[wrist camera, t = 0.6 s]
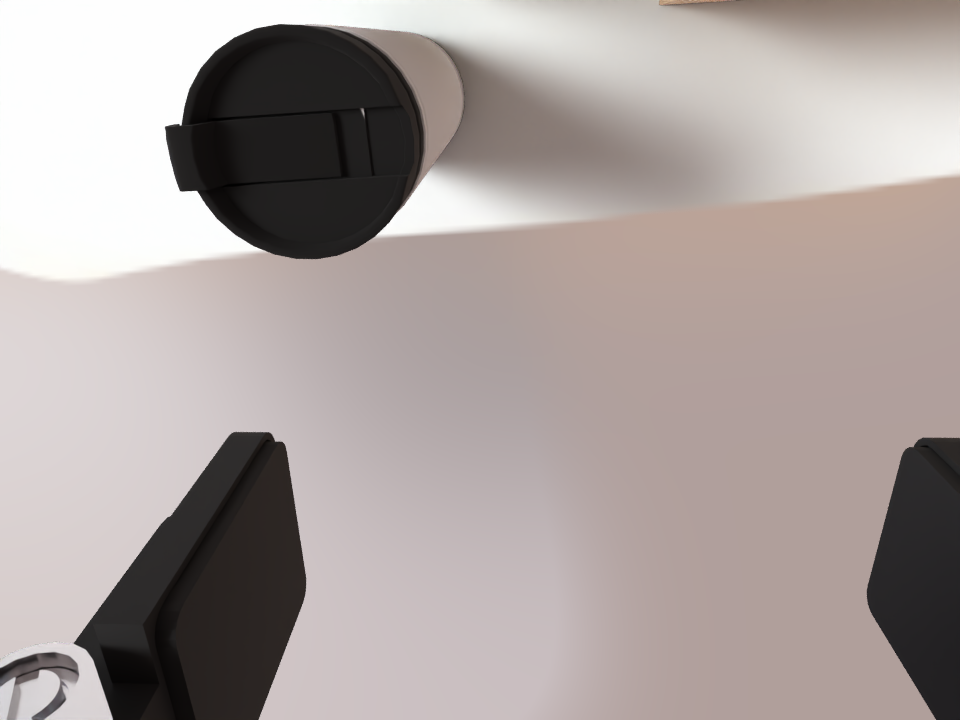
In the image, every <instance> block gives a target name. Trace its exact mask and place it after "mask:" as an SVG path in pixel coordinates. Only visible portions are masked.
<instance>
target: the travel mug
mask: <svg viewBox="0 0 960 720" xmlns="http://www.w3.org/2000/svg"><path fill="white" fill-rule="evenodd" d="M464 99H465V94H464V88H463V82H462V79H461V76H460V73H459V71H458V69H457V67H456V65H455V63H454V62H453V60H452V58H451V57H450V56H449V55H448V54H447V53H446V52H445V50H444V49H443V48H441V47H440V46H439V45H438V44H436V43H435V42H434V41H432V40H430V39H428V38H426V37H424V36H422V35H418V34H414V33H410V32H400V31H389V30H378V29H367V28H356V27H345V26H332V25H314V24H306V25H286V24H278V25H272V26H267V27H261V28H256V29H254V30H251V31H249V32H246V33H244V34H242V35H239V36H237V37H235V38H233V39H232V40H230V41H229V42H228V43H226V44H225V45H223V46H222V47H221V48H219V49H218V50H217V51H215V52H214V54H213V55H212V56H211V57H210V58H209V59H208V61H207V62H206V63H205V64H204V65H203V66H202V67H201V69H200V70H199V72H198V74H197V76H196V78H195V80H194V82H193V83H192V85H191V87H190V89H189V93H188V96H187V100H186V103H185V107H184V113H183V120H182V126H180V125H179V124H174V125H170V126H166V127H165V130H166V140H167V145H168V150H169V155H170V160H171V163H172V167H173V171H174V175H175V179H176V181H177V184H178V187H179V190H180V191H198V193H199V194H200V196H201V198H202V199H203V201H204V202H205V204H206V205H207V207H208V208H209V209H210V210H211V212H212V213H213V214H214V215H215V217H216V218H217V219H218V220H219V221H220V222H221V223H222V224H224V225H225V226H226V227H227V228H228V229H229V230H230V231H231V232H233V233H234V234H235V235H237V236H238V237H240V238H241V239H243V240H245V241H246V242H248V243H249V244H251V245H253V246H255V247H257V248H260V249H262V250H265V251H267V252H270V253H272V254H275V255H280V256H285V257H290V258H295V259H321V258H326V257H331V256H337V255H340V254H343V253H345V252H348V251H351V250H353V249H356V248H358V247H359V246H361V245H363V244H364V243H366V242H367V241H369V240H370V239H372V238H373V237H375V236H376V235H377V234H378V233H379V232H380V231H381V230H382V229H383V228H384V227H385V226H386V225H387V224H388V223H389V222H390V221H391V219H392V218H393V217H394V215H395V214H396V213H397V212H398V211H399V210H400V209H401V208H402V207H403V206H404V205H405V203H406V202H407V200H408V199H409V198H410V196H411V195H412V193H413V192H414V191H415V189H416V188H417V186H418V185H419V184H420V182H421V181H422V179H423V178H424V177H425V175H426V174H427V172H428V171H429V170H430V168H431V167H432V165H433V164H434V163H435V161H436V160H437V158H438V157H439V156H440V154H441V153H442V151H443V150H444V149H445V147H446V146H447V144H448V143H449V142H450V140H451V139H452V137H453V136H454V134H455V133H456V131H457V129H458V127H459V125H460V122H461V120H462V116H463V111H464Z"/></svg>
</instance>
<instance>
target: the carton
mask: <svg viewBox="0 0 960 720" xmlns="http://www.w3.org/2000/svg"><path fill="white" fill-rule="evenodd" d="M718 1H734V0H660V3H659V5H668V4H685V3H701V2H718Z"/></svg>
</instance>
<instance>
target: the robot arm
mask: <svg viewBox="0 0 960 720" xmlns="http://www.w3.org/2000/svg"><path fill="white" fill-rule="evenodd" d="M305 592H306V574H305V567H304V561H303V554H302V548H301V541H300V535H299V528H298V522H297V516H296V509H295V504H294V496H293V489H292V483H291V477H290V471H289V463H288V457H287V451H286V447H285V444H284V443H283V442H275V440H274V438H273V436H272V434H271V433H269V432H234V433H232V434H231V435H230V436H229V437H228V438H227V439H226V441H225V442H224V444H223V445H222V446H221V448H220V449H219V450H218V452H217V453H216V455H215V456H214V457H213V459H212V460H211V461H210V463H209V464H208V466H207V467H206V468H205V470H204V471H203V473H202V474H201V475H200V477H199V478H198V479H197V481H196V482H195V484H194V485H193V486H192V488H191V489H190V491H189V492H188V493H187V495H186V496H185V497H184V499H183V500H182V501H181V503H180V504H179V506H178V507H177V508H176V510H175V511H174V513H173V514H172V515H171V516H170V517H168V518H167V519H166V520H165V521H164V522H163V523H162V524H161V525H160V526H159V528H158V529H157V530H156V532H155V533H154V534H153V536H152V537H151V539H150V540H149V541H148V543H147V544H146V545H145V547H144V548H143V549H142V551H141V552H140V554H139V555H138V556H137V558H136V559H135V560H134V562H133V563H132V564H131V566H130V567H129V569H128V570H127V571H126V573H125V574H124V575H123V577H122V578H121V580H120V581H119V582H118V584H117V585H116V586H115V588H114V589H113V590H112V592H111V593H110V595H109V596H108V597H107V599H106V600H105V601H104V603H103V604H102V605H101V607H100V608H99V609H98V611H97V612H96V614H95V615H94V616H93V618H92V619H91V620H90V622H89V623H88V624H87V626H86V627H85V629H84V630H83V631H82V633H81V634H80V635H79V637H78V638H77V640H76V641H75V642H74V644H71V643H62V642H52V643H45V644H38V645H33V646H30V647H27V648H24V649H21V650H18V651H15V652H13V653H11V654H9V655H7V656H5V657H3V658H1V659H0V720H258V719H259V717H260V714H261V712H262V709H263V706H264V704H265V701H266V698H267V696H268V693H269V690H270V688H271V685H272V682H273V680H274V677H275V675H276V672H277V670H278V667H279V664H280V662H281V659H282V656H283V654H284V651H285V649H286V646H287V643H288V641H289V638H290V635H291V633H292V630H293V627H294V625H295V622H296V620H297V617H298V614H299V612H300V609H301V607H302V604H303V601H304V597H305ZM867 600H868V605H869V608H870V611H871V613H872V615H873V617H874V618H875V620H876V622H877V623H878V625H879V627H880V628H881V630H882V631H883V633H884V635H885V636H886V638H887V640H888V641H889V643H890V644H891V646H892V648H893V650H894V651H895V653H896V655H897V656H898V658H899V659H900V661H901V662H902V664H903V666H904V668H905V669H906V671H907V673H908V674H909V676H910V677H911V679H912V681H913V682H914V684H915V686H916V687H917V689H918V691H919V692H920V694H921V695H922V697H923V699H924V700H925V702H926V703H927V705H928V707H929V709H930V710H931V712H932V714H933V715H934V717H935V719H936V720H960V438H922V439H920V440H918V441H917V442H916V444H915V445H914V447H909V448H907V449H906V450H905V451H904V452H903V455H902V457H901V461H900V465H899V469H898V473H897V476H896V481H895V484H894V488H893V492H892V496H891V499H890V503H889V507H888V511H887V514H886V519H885V522H884V526H883V530H882V534H881V537H880V541H879V545H878V549H877V553H876V556H875V561H874V564H873V568H872V572H871V576H870V580H869V583H868V588H867Z"/></svg>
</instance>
